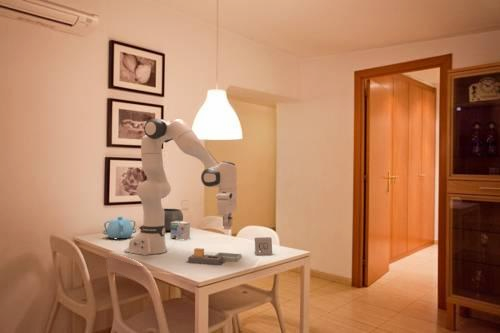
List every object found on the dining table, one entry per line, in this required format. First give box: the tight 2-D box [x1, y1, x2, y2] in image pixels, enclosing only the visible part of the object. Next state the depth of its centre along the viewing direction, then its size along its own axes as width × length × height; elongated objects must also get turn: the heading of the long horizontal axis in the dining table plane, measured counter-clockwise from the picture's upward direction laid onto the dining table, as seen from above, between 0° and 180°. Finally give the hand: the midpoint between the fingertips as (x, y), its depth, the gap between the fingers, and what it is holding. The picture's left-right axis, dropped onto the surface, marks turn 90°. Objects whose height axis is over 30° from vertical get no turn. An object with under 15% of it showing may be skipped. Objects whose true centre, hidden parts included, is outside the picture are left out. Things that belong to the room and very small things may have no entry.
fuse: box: [193, 247, 205, 257], centre depth 178 cm, size 4×2×6 cm, turn 77°
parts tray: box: [214, 252, 243, 263], centre depth 185 cm, size 12×9×3 cm
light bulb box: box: [169, 220, 191, 241], centre depth 238 cm, size 11×7×11 cm, turn 69°
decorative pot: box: [102, 216, 137, 239], centre depth 237 cm, size 16×16×14 cm
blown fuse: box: [222, 216, 233, 231], centre depth 184 cm, size 4×2×6 cm, turn 76°
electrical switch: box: [254, 236, 273, 256], centre depth 200 cm, size 9×5×9 cm, turn 99°
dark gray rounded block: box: [163, 208, 184, 232], centre depth 266 cm, size 20×20×15 cm
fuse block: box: [184, 253, 227, 267], centre depth 177 cm, size 18×8×4 cm, turn 77°
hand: (227, 221), depth 184 cm, fingers closed on blown fuse, 2 cm apart
